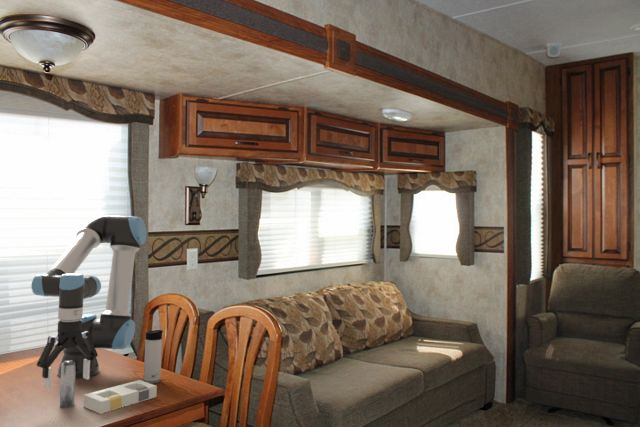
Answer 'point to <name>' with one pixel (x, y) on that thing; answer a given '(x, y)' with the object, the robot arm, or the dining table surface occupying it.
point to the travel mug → (153, 356)
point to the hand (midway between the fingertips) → (67, 383)
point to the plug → (67, 384)
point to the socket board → (119, 396)
